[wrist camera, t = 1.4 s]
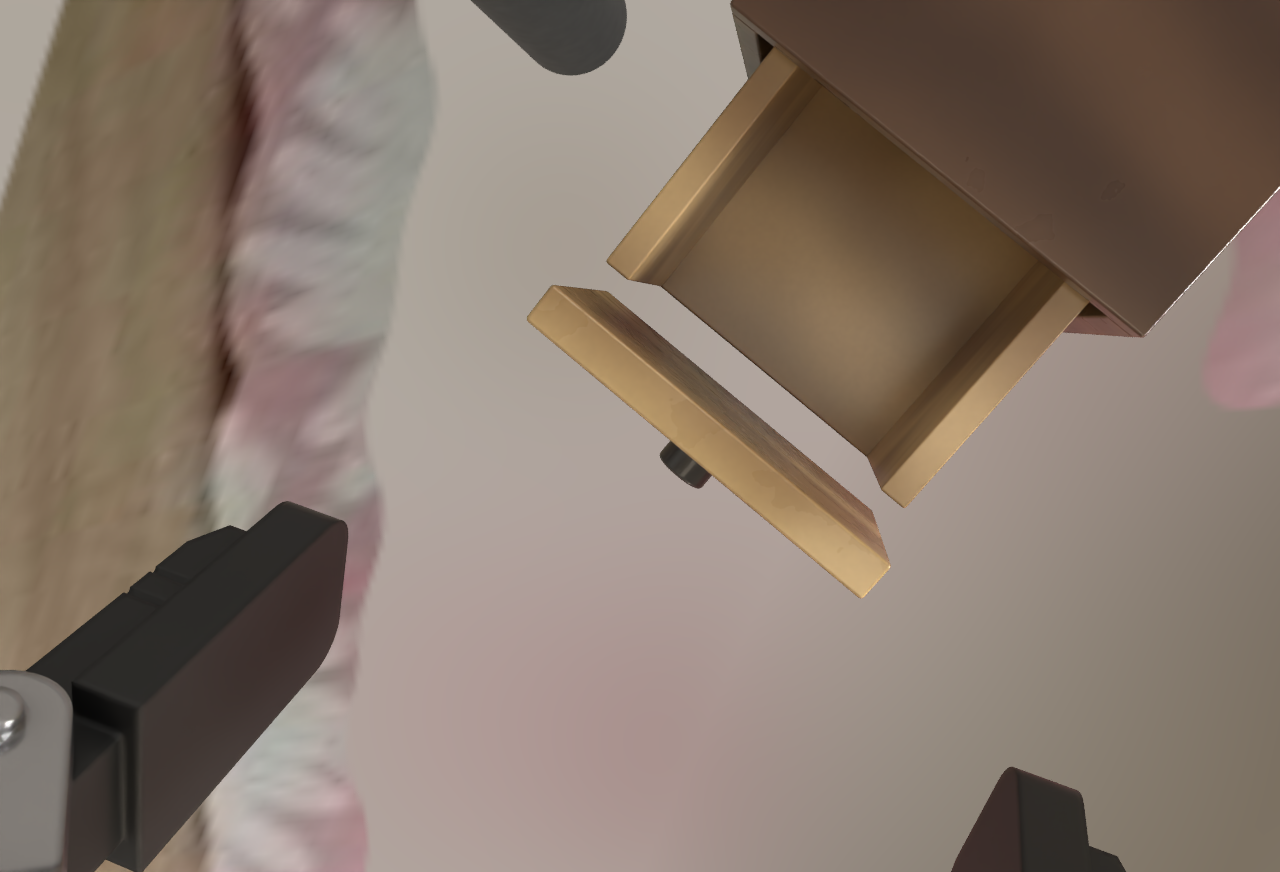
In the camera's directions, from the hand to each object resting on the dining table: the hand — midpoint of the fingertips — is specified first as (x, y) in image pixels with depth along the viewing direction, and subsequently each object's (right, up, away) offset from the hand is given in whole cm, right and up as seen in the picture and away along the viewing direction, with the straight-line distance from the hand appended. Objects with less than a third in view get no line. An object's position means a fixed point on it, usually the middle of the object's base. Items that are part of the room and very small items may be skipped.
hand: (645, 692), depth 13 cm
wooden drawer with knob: (+6, +8, +22) cm, 24 cm away
